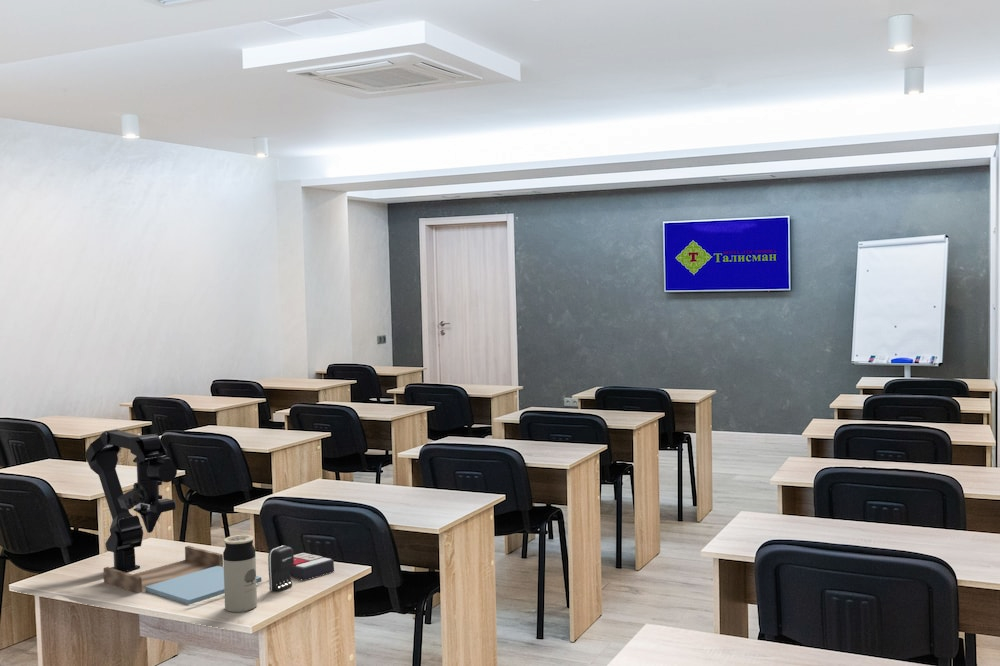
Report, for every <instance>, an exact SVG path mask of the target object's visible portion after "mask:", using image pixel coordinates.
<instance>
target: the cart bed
mask: <svg viewBox="0 0 1000 666" xmlns="http://www.w3.org/2000/svg"><path fill="white" fill-rule="evenodd" d="M184 556H185V557H184V559H183V560H179V561H176V562H172V563H168V564H165V565H161V566H158V567H154V568H151V569H147V570H144V571H139V572H136V573H133V574H132V573H130V572H127V571H126V572H123V571H119V570H116V569H113V568H111V567H109V566H106V567H104V568H103V583H105V584H108V585H112V586H115V587H117V588H120V589H124V590H126V591H130V592H133V593H137V594H140V593H143V592H146V591H145V586H149V585H152V584H156V583H159V582H163V581H166V580H170V579H173V578H176V577H180V576H183V575H187V574H190V573H194V572H197V571H201V570H204V569H207V568H211V567H214V566H221V567H224V562H223V553H219V552H214V551H210V550H207V549H202V548H199V547H194V546H191V545H187V546H186V545H185V546H184Z"/></svg>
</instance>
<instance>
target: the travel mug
mask: <svg viewBox="0 0 1000 666" xmlns="http://www.w3.org/2000/svg"><path fill="white" fill-rule="evenodd" d="M254 540H255V536H253V535H251V534H250V535H249V534H238V535H231V536H227V537H226V538H224V540H223V542H224V544H225V548H224V550H223V552H222V554H223V567H224V609H225V610H226V611H228V612H232V613H242V612H243V611H244V612H248V611H251V610H253V609H254V608H255V607H257V606H258V591H257V589H258V588H257V587H258V586H257V583H256V576H257V565H256V564H257V562H256V561H257V558H256V556H257V555H256V554H257V553H256V547H254V545H253V543H254Z"/></svg>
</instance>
